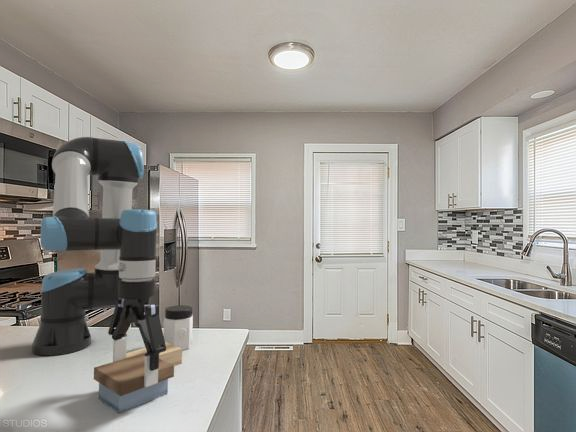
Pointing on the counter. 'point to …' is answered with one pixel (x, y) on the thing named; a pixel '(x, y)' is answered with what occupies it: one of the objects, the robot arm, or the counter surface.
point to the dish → (132, 396)
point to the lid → (129, 374)
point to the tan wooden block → (163, 354)
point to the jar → (178, 326)
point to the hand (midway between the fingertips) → (134, 375)
